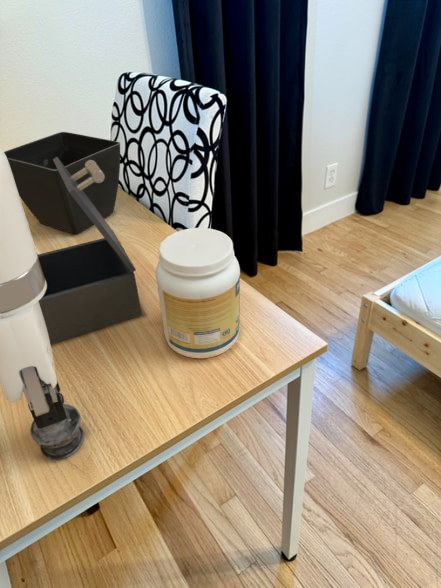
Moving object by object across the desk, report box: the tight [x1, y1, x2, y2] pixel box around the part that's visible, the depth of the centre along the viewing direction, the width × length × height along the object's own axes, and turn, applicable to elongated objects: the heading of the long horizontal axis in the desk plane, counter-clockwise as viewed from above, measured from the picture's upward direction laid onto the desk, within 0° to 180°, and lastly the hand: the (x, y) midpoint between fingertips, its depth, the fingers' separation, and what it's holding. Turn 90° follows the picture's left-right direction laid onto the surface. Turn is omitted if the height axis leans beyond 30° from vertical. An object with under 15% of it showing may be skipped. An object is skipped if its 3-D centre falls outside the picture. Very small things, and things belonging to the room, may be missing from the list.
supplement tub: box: [155, 227, 241, 359], centre depth 65 cm, size 12×12×17 cm
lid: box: [53, 157, 137, 273], centre depth 67 cm, size 16×14×5 cm
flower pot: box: [3, 131, 121, 235], centre depth 98 cm, size 19×19×17 cm
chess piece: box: [29, 386, 85, 461], centre depth 51 cm, size 6×6×12 cm
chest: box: [37, 237, 143, 346], centre depth 73 cm, size 16×14×9 cm
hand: (49, 407), depth 50 cm, fingers closed on chess piece, 3 cm apart
